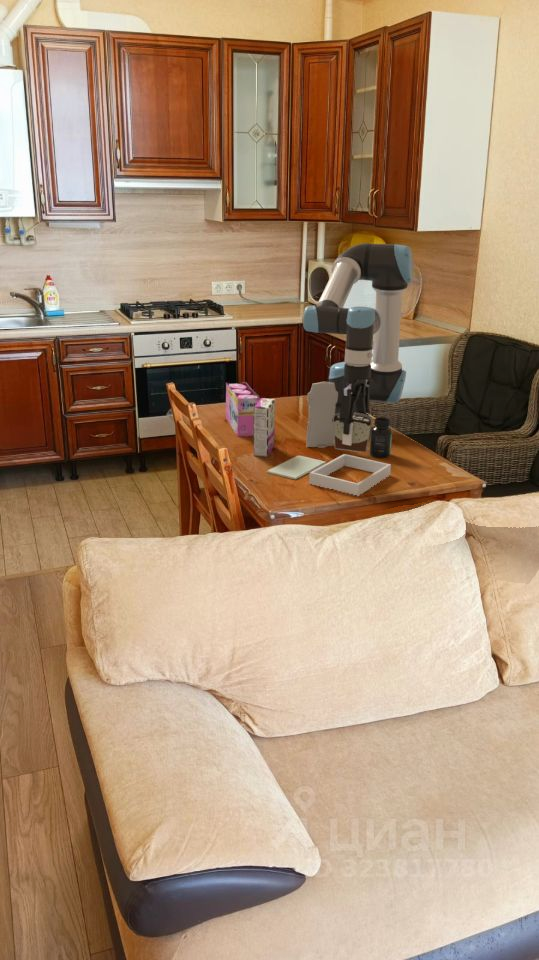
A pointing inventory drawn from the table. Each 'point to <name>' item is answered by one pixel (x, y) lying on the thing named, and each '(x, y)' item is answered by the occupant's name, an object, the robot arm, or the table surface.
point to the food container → (359, 432)
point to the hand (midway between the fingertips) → (352, 441)
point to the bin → (322, 480)
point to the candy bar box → (264, 427)
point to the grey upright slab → (321, 414)
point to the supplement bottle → (380, 438)
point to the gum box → (241, 408)
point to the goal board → (296, 467)
